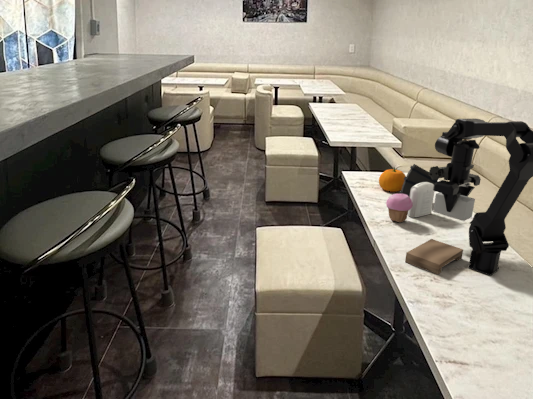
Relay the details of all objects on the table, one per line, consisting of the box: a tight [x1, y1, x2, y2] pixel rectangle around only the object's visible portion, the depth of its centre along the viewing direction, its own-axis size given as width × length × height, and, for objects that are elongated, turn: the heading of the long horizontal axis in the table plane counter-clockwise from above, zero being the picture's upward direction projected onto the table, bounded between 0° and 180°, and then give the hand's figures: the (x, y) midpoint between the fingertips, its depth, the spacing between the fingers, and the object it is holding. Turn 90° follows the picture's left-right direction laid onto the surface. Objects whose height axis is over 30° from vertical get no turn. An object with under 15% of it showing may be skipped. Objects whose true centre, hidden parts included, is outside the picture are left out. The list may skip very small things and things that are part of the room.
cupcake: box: [385, 193, 413, 223], centre depth 164 cm, size 9×9×10 cm
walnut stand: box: [405, 238, 464, 275], centre depth 136 cm, size 10×15×3 cm, turn 135°
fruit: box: [378, 166, 407, 193], centre depth 199 cm, size 12×12×10 cm
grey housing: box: [432, 192, 476, 222], centre depth 144 cm, size 10×5×7 cm, turn 43°
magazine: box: [399, 163, 440, 197], centre depth 185 cm, size 4×13×15 cm, turn 82°
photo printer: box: [407, 182, 436, 218], centre depth 171 cm, size 10×4×12 cm, turn 123°
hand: (452, 209), depth 145 cm, fingers closed on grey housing, 5 cm apart
